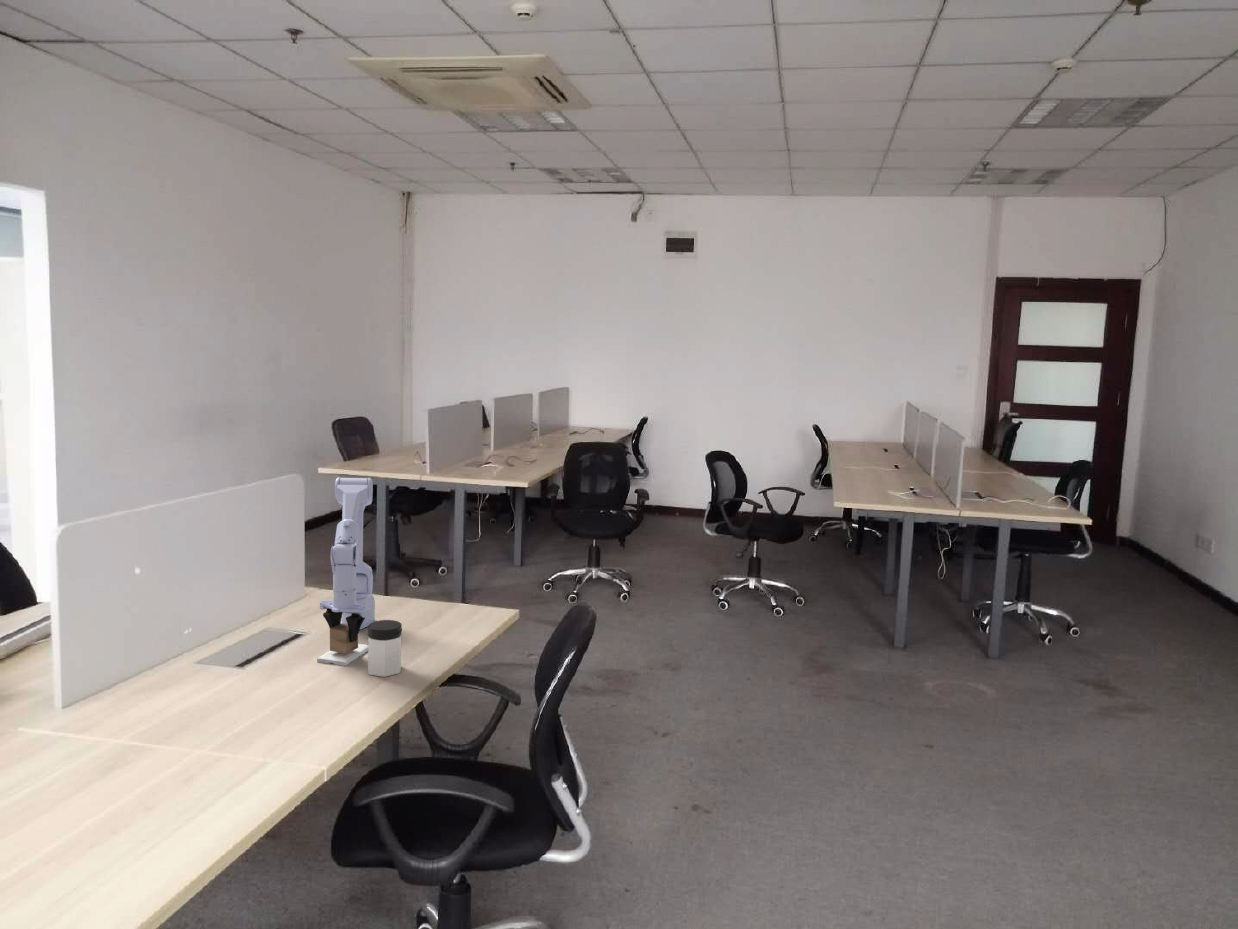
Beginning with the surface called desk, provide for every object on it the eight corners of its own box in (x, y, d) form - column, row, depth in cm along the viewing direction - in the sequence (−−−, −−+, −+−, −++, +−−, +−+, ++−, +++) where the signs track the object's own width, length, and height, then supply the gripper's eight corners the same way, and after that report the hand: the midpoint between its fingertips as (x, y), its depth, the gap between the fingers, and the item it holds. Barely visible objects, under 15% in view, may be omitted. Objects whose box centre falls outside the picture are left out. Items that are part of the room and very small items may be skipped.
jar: (376, 680, 205) (376, 633, 203) (360, 669, 211) (360, 624, 209) (408, 671, 211) (409, 625, 209) (392, 661, 217) (393, 617, 215)
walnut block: (342, 644, 222) (342, 622, 221) (358, 647, 220) (358, 626, 219) (329, 650, 217) (329, 628, 216) (345, 654, 215) (345, 631, 215)
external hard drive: (370, 651, 225) (345, 667, 213) (342, 647, 226) (316, 663, 214) (370, 645, 224) (345, 661, 212) (342, 641, 226) (316, 657, 214)
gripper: (311, 588, 215) (311, 639, 217) (357, 597, 210) (357, 648, 212) (330, 582, 222) (330, 631, 224) (375, 590, 217) (374, 640, 219)
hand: (344, 639), depth 218 cm, fingers closed on walnut block, 5 cm apart
